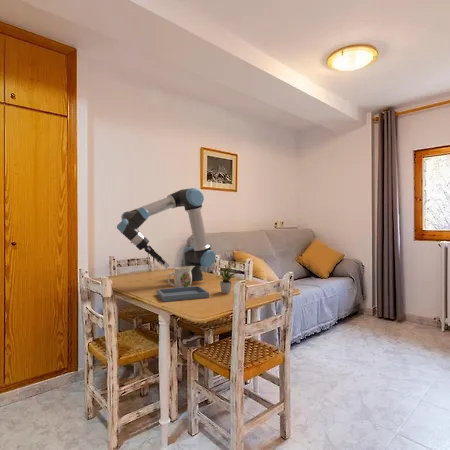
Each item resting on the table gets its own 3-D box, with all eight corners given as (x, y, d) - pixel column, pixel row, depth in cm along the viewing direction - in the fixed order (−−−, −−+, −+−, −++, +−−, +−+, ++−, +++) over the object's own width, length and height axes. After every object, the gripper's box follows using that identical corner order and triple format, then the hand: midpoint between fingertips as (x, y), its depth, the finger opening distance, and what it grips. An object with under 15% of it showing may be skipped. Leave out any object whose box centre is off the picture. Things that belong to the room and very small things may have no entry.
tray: (198, 290, 196) (198, 286, 196) (208, 297, 179) (208, 292, 179) (157, 294, 186) (157, 289, 186) (163, 302, 169) (163, 296, 169)
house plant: (217, 296, 182) (217, 267, 182) (208, 291, 195) (208, 264, 194) (240, 294, 188) (240, 265, 187) (230, 289, 200) (230, 262, 200)
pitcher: (164, 289, 200) (164, 267, 199) (190, 286, 209) (190, 264, 209) (171, 292, 190) (171, 269, 190) (198, 289, 200) (198, 267, 200)
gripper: (132, 244, 200) (157, 267, 206) (138, 247, 177) (165, 273, 183) (141, 235, 202) (165, 258, 208) (148, 237, 179) (174, 263, 185)
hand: (165, 265), depth 196 cm, fingers open, 13 cm apart
